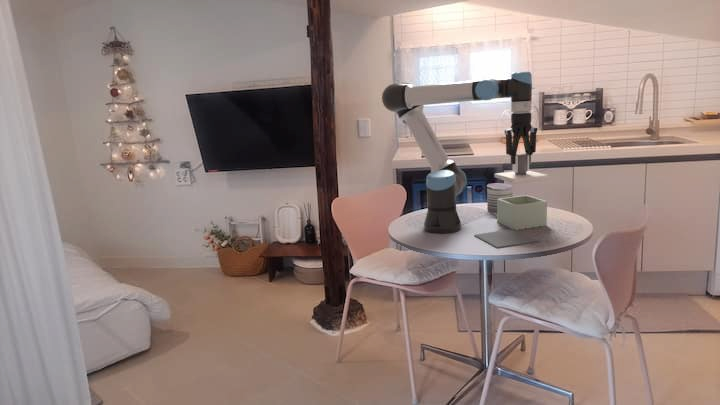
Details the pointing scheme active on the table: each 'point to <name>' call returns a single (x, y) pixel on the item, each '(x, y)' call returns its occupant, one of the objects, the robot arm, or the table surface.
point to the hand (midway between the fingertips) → (520, 171)
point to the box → (522, 212)
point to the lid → (521, 173)
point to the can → (497, 195)
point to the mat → (506, 238)
